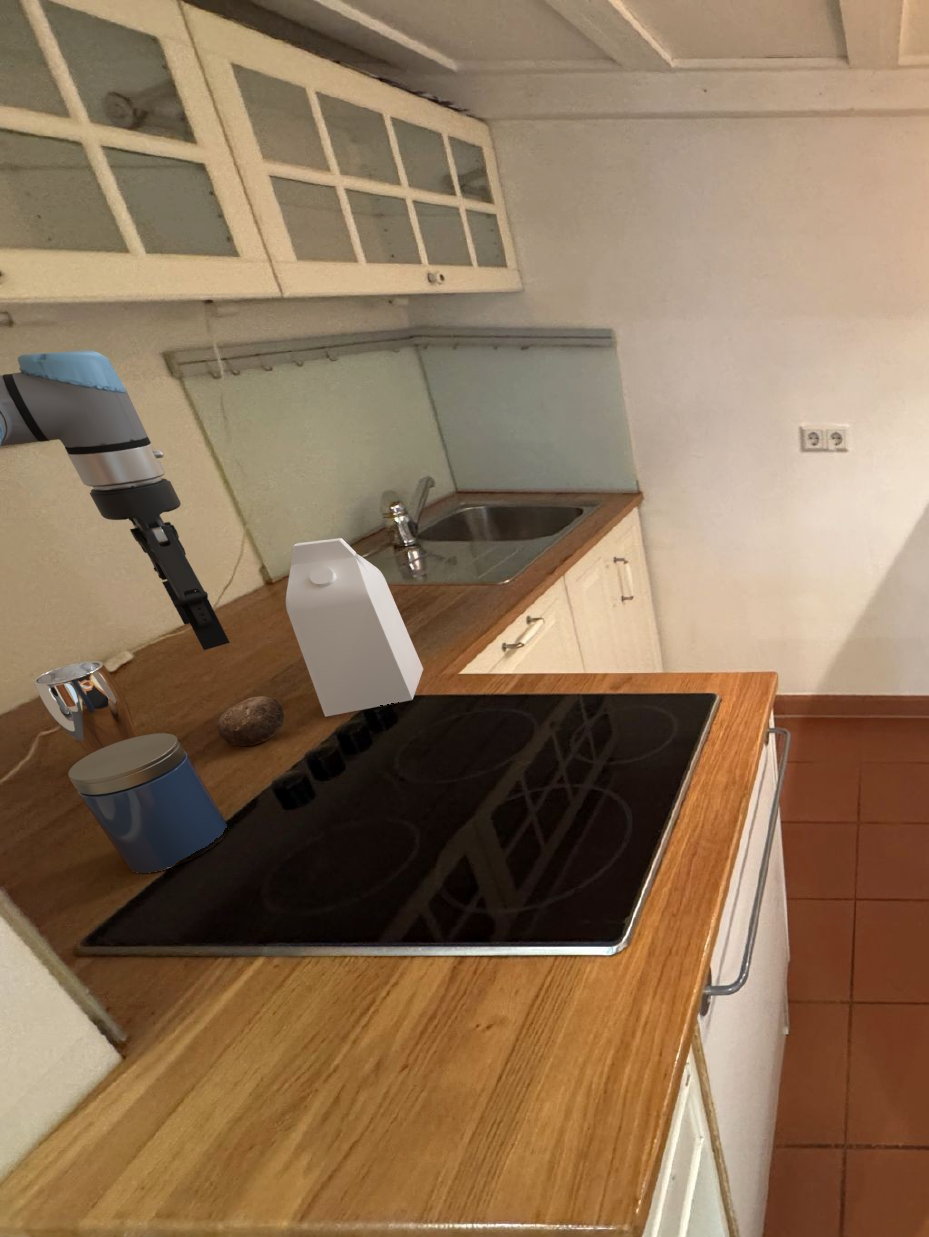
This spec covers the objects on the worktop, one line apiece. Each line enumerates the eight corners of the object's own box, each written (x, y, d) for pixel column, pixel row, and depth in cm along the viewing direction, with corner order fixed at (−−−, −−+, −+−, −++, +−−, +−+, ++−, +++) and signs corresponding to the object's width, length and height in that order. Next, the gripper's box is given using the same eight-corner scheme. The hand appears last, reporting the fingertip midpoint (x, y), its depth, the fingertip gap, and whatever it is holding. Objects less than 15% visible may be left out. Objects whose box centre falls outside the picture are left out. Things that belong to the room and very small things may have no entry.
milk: (423, 669, 122) (372, 526, 111) (412, 699, 113) (355, 546, 101) (343, 683, 118) (281, 537, 107) (325, 716, 109) (255, 559, 97)
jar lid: (80, 806, 72) (70, 791, 72) (73, 774, 78) (63, 760, 77) (191, 765, 78) (183, 751, 78) (178, 738, 84) (170, 724, 83)
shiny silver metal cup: (161, 744, 103) (109, 655, 96) (154, 766, 98) (98, 673, 91) (96, 762, 99) (38, 670, 93) (85, 786, 94) (22, 690, 88)
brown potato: (270, 696, 108) (242, 680, 103) (310, 720, 107) (284, 705, 102) (225, 738, 105) (194, 724, 99) (266, 763, 104) (237, 750, 98)
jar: (134, 886, 77) (73, 796, 72) (123, 850, 83) (66, 764, 77) (236, 841, 83) (187, 755, 78) (220, 811, 89) (173, 728, 83)
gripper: (186, 489, 83) (261, 646, 93) (152, 465, 98) (220, 603, 107) (99, 503, 78) (188, 668, 88) (77, 476, 93) (155, 620, 102)
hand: (206, 633), depth 97 cm, fingers open, 13 cm apart
